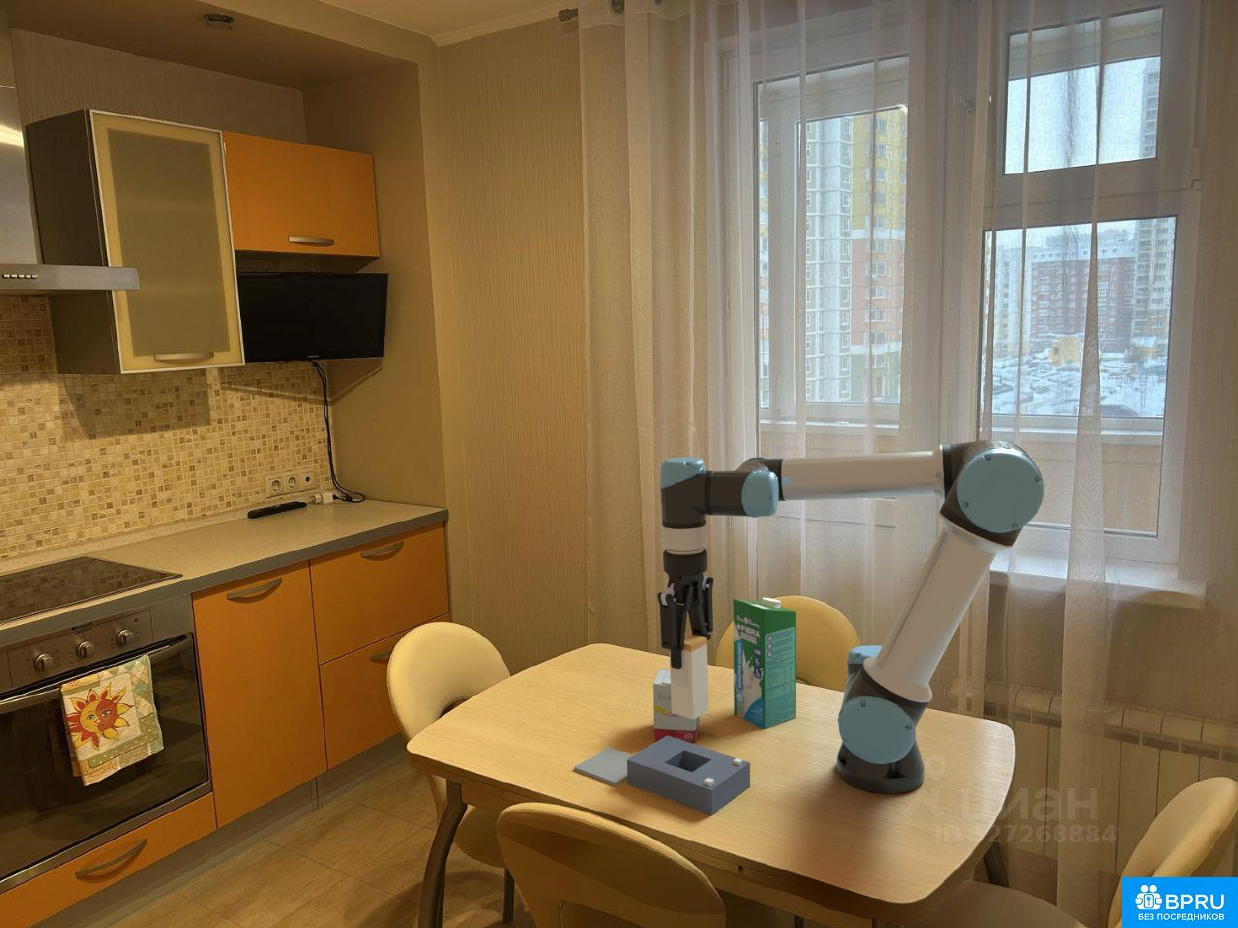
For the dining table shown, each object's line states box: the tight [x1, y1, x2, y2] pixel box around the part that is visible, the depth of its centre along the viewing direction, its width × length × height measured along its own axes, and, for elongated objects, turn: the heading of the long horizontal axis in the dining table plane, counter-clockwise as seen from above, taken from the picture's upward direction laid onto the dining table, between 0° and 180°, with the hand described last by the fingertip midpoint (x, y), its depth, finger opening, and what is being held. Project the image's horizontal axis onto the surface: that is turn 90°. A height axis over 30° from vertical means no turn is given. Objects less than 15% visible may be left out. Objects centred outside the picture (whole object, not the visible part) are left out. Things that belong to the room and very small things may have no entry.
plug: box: [669, 632, 710, 719], centre depth 158 cm, size 5×5×13 cm
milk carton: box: [732, 597, 797, 730], centre depth 187 cm, size 9×9×25 cm
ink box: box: [652, 668, 701, 744], centre depth 182 cm, size 9×9×12 cm
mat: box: [573, 746, 634, 787], centre depth 169 cm, size 10×10×1 cm
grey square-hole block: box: [626, 736, 751, 816], centre depth 161 cm, size 18×12×5 cm, turn 50°
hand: (689, 679), depth 158 cm, fingers closed on plug, 5 cm apart
